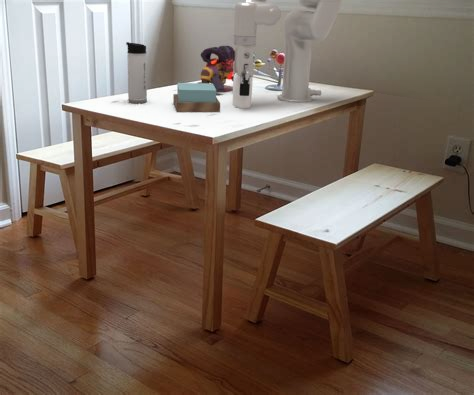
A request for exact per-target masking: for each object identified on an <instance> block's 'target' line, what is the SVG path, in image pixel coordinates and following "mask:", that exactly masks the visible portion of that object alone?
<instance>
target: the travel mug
mask: <svg viewBox="0 0 474 395" xmlns="http://www.w3.org/2000/svg"><path fill="white" fill-rule="evenodd" d="M125 45H126V46H127V92H128V93H127V94H128V96H127V98H128V102H129V103H130V104H137V105H138V104H139V105H140V104H146V103H147V102H148V99H147V97H148V94H147V90H148V88H147V87H148V86H147V85H148V84H147V82H148V81H147V79H148V78H147V45H145V44H143V43H135V42H130V41H129V42H127V41H126V42H125Z"/></svg>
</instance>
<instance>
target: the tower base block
mask: <svg viewBox="0 0 474 395" xmlns="http://www.w3.org/2000/svg"><path fill="white" fill-rule="evenodd" d="M172 104H173V106H174V108H175V111H176V113H221V102H220V101H219V99H218V97H216V103H208V102H179V100H178V95H177V93H173V103H172Z"/></svg>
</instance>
